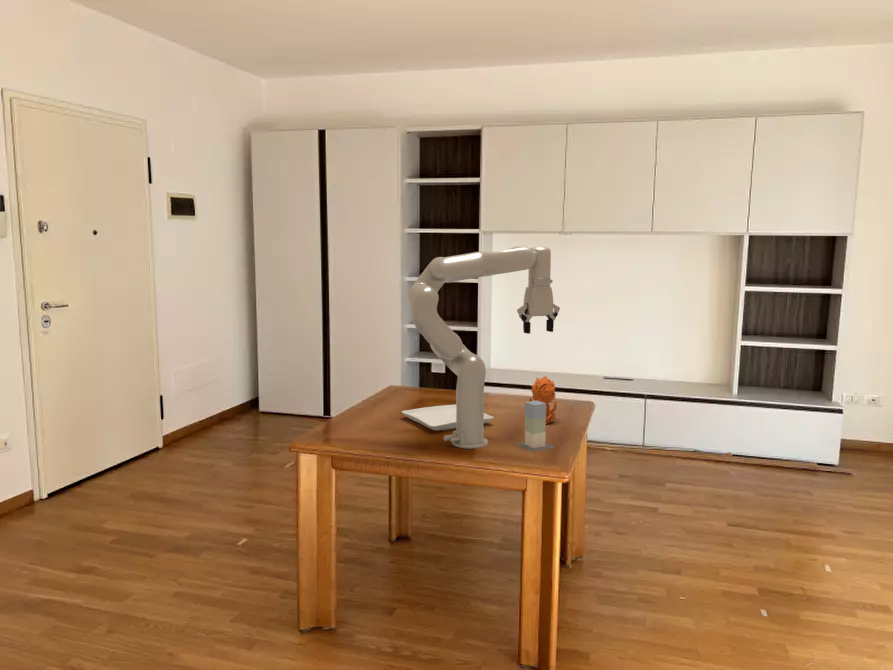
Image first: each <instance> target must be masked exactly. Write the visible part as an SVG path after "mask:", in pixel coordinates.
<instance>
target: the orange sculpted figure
mask: <svg viewBox="0 0 893 670" xmlns="http://www.w3.org/2000/svg"><path fill="white" fill-rule="evenodd" d="M531 393H532V397H530V398H529V400H528V402H530V401H540V402H543V403H546V425H549V424H550V423H551V422H552V421H555V420H556V413H555V411H556V410H557V407H558V405H557V400H555V399H556V384H555V382H554V381H553V380H551V379H550V378H548V377H547V376H546V375H545V376H543V377H541V378H539V377H536V379H535V382H534V383H533V385H531ZM554 400H555V401H554ZM553 401H554V402H553ZM551 402H553V407H552V409H550V407H551V406H550V404H549V403H551ZM548 423H549V424H548Z"/></svg>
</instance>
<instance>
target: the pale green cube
mask: <svg viewBox="0 0 893 670" xmlns="http://www.w3.org/2000/svg"><path fill="white" fill-rule="evenodd" d="M546 425H547V424H546V418H542V419H535V420H533V419H531V418H528V417H525V416H524V432H525V431H527V432H530V433H532V434H537V433H543V432H546Z"/></svg>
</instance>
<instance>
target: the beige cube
mask: <svg viewBox="0 0 893 670" xmlns="http://www.w3.org/2000/svg"><path fill="white" fill-rule="evenodd" d="M546 438H547V437H546V431H545V432H543V433H537V434H532V433H530V432H527V431H525V430H524V442H525V445H527V446H529V447H531V448H539V447H545V443H546Z"/></svg>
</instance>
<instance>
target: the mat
mask: <svg viewBox="0 0 893 670" xmlns="http://www.w3.org/2000/svg"><path fill="white" fill-rule="evenodd" d="M515 445H516V446H519V447H521V448H523V449H525V450H527V451H529V452H532V453H533V452H537V451H543V450H548V449H555V448H556V446H553V445H552V444H549V443H546V442H545V447H539V448H531V447H529V446H527V445H525V441H523V442H517V443H515Z"/></svg>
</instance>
